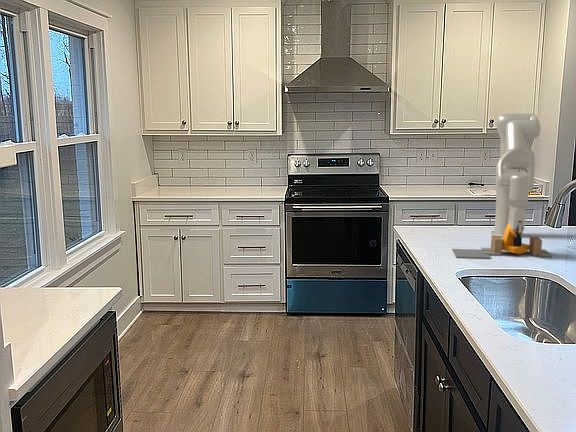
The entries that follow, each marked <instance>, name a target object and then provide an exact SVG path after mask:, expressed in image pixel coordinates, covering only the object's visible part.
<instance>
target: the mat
mask: <svg viewBox="0 0 576 432" xmlns="http://www.w3.org/2000/svg"><path fill="white" fill-rule="evenodd" d="M452 252H453V254H454V256H455V258H456V259H478V260H480V259H482V260H491V259H492V256H489V254H484V252H483V251H482V250H481V249H474V248H473V249H472V248H471V249H469V248H452Z"/></svg>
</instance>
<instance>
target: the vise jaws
mask: <svg viewBox="0 0 576 432" xmlns="http://www.w3.org/2000/svg"><path fill="white" fill-rule="evenodd" d="M490 237H491V239H490V247H480V250H482V251H483V252H484V254H489V256H490V257H492V256H495V257H497V256H498V257H500V256H502V252H503V250H502V239H503V237H500V236H499V235H492V234H491V236H490ZM528 245H530V250H528V252H529V253H530V254H531V255H532V256H533V257H536V258H552V257H553V255H552V253H550V251H548V250H547V249H544V248H542V246H543V240H542V239H541V238H540V237H539V236H538V235H537V236H536V235H530V236H529V244H528Z"/></svg>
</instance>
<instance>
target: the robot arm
mask: <svg viewBox="0 0 576 432" xmlns="http://www.w3.org/2000/svg"><path fill="white" fill-rule="evenodd" d="M496 129H497V132H498V135H499V139H500V144H499V145H500V147H499V159H498V161H497V163H496V166H495V181H494V182H495V191H496V192H495V193H496V194H495V195H496V196H495V217H494V222H495V223H494V230H493V231H491V233H490V234H491V235H499V236H500V237H501V238H503V235H504V232H505V229H506V226H507V225H508V224H510V229H511V230H515V234H514V239H513V246H521V242H522V240H523V238H522V237H523V233H522V231H523V232H524V230H525V226H526V225H525V224H526V223H525V222H526V208H528V204H529V193H530V191H533V189H534V184H535V173H536V155H535V152H534V151H533V150H532V149H528V148H527V139H538V138H539V136H540V135H541V123H540V120H539V119H538V116H537V114H534V113H504V114H500V115H498V117H497V118H496ZM503 169H504V170H503ZM505 170H523V171H505ZM516 229H518V230H516ZM516 231H518V232H517V234H516ZM522 243H523V242H522Z"/></svg>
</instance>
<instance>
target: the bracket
mask: <svg viewBox="0 0 576 432" xmlns="http://www.w3.org/2000/svg"><path fill="white" fill-rule="evenodd" d="M516 230H518V229H516ZM517 232H518V231H516V234H517ZM523 233H524V230H523V231H522V234H523ZM514 234H515V230H511V229H510V224H508V225H507V226H506V229H505V232H504V235H503V237H502V251H506V252H509V253H512V254H517V255H521V254H525V253H528V251H529V250H530V245H529V244H527V243H523V242H521V246H513V239H514Z"/></svg>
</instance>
